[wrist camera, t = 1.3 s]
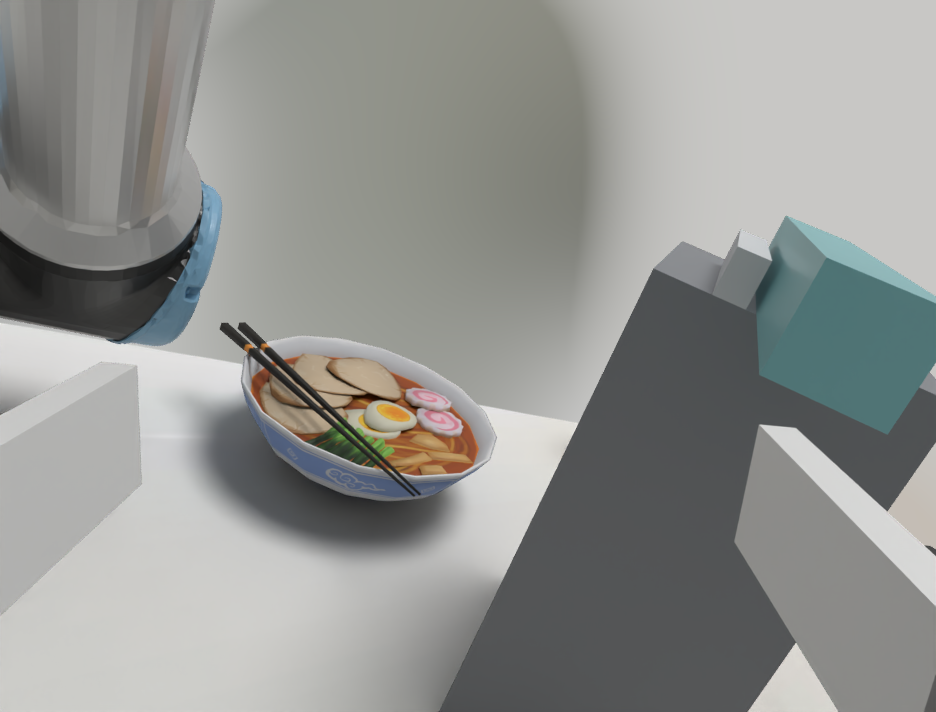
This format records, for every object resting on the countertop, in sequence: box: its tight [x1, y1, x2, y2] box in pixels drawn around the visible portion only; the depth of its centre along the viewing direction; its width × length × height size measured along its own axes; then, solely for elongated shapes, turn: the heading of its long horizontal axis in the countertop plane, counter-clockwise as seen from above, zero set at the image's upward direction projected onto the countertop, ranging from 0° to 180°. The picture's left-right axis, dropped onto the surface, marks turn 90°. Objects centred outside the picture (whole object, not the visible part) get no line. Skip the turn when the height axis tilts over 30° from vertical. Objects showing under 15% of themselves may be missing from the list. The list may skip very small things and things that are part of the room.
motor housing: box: [439, 229, 936, 712], centre depth 44 cm, size 16×14×32 cm
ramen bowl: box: [220, 323, 497, 501], centre depth 64 cm, size 25×23×8 cm
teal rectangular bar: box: [755, 216, 936, 435], centre depth 33 cm, size 26×4×4 cm, turn 158°
